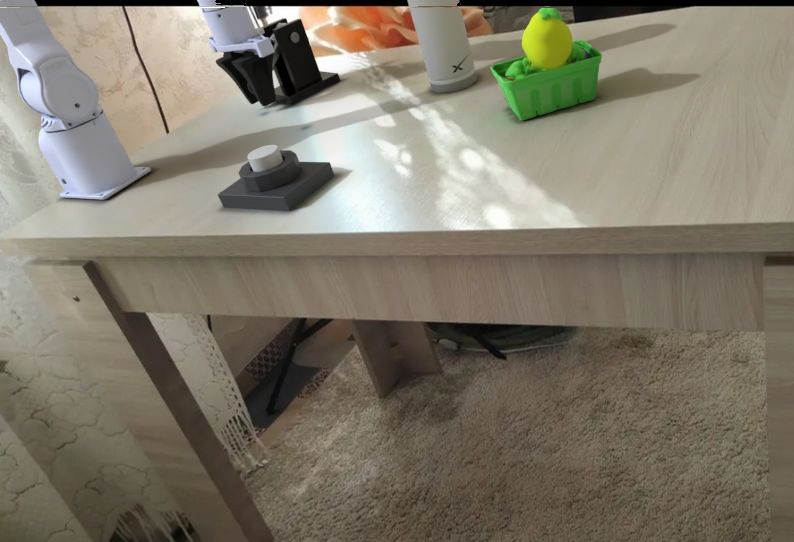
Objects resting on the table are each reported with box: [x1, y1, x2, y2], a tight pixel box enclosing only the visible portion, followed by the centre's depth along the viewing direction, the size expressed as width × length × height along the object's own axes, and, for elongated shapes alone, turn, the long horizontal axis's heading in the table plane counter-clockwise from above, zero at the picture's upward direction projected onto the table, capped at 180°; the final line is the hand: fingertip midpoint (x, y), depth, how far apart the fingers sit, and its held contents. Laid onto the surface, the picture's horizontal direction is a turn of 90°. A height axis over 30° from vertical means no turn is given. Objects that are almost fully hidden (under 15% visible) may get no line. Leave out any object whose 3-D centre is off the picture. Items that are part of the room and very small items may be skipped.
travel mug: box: [407, 0, 478, 94], centre depth 96 cm, size 6×7×20 cm
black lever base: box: [260, 17, 342, 106], centre depth 112 cm, size 9×7×10 cm
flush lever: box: [246, 23, 287, 95], centre depth 110 cm, size 11×3×3 cm
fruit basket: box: [490, 6, 603, 121], centre depth 85 cm, size 11×9×11 cm
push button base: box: [217, 149, 335, 212], centre depth 85 cm, size 10×8×4 cm
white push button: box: [246, 144, 283, 172], centre depth 83 cm, size 3×3×2 cm
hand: (263, 102), depth 111 cm, fingers closed on flush lever, 3 cm apart
